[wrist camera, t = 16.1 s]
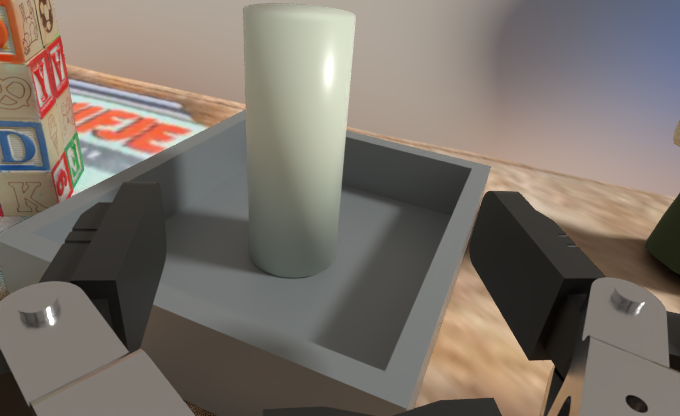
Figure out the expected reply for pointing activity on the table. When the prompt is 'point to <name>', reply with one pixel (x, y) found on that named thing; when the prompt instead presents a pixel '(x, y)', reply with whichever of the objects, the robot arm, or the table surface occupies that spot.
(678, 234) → the character mug
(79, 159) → the stack of blocks
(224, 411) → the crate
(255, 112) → the canister
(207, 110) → the table surface
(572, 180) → the table surface
